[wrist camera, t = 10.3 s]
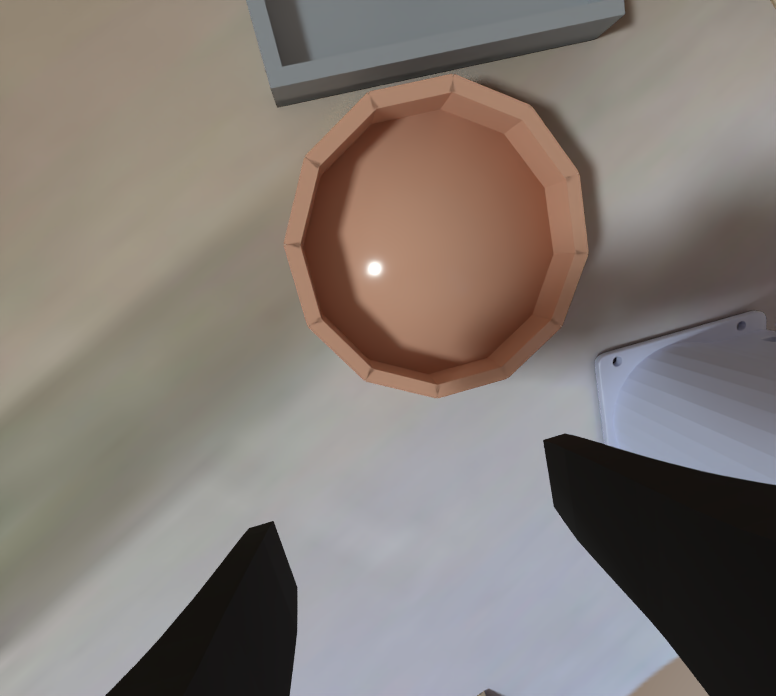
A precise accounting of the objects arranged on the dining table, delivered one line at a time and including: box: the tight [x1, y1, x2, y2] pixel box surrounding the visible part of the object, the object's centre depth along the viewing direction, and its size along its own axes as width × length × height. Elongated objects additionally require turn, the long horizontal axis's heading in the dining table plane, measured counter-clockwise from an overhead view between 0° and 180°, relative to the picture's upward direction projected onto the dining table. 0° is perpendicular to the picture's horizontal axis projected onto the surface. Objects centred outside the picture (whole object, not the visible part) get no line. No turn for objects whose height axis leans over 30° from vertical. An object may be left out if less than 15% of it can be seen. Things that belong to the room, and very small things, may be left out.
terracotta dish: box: [284, 74, 589, 398], centre depth 17 cm, size 12×12×2 cm
